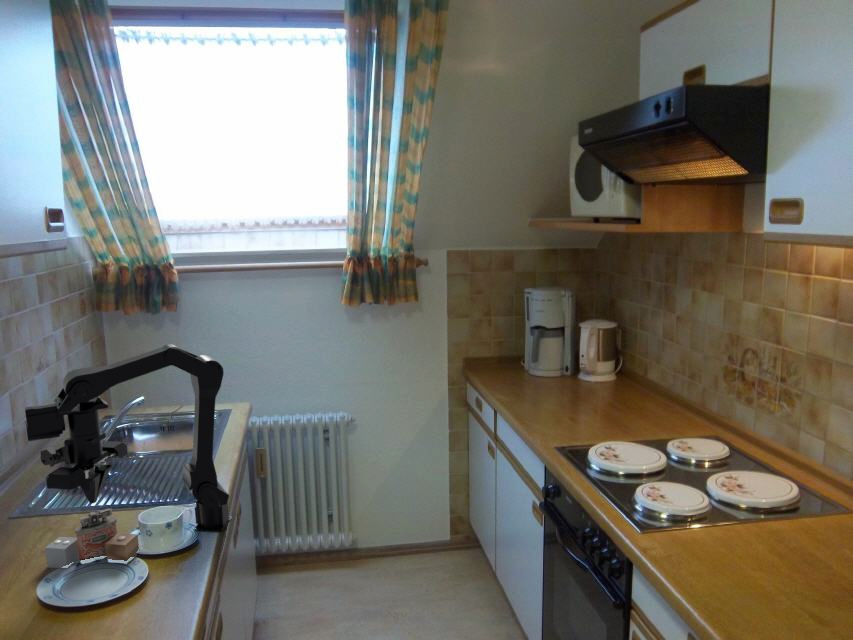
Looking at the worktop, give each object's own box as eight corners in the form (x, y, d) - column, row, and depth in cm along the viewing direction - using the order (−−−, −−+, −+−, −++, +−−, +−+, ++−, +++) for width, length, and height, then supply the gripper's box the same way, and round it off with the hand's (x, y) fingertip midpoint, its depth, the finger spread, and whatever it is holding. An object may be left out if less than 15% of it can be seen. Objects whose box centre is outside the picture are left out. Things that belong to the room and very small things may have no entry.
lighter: (81, 566, 140) (75, 521, 139) (77, 559, 143) (71, 515, 141) (122, 552, 146) (117, 509, 144) (117, 546, 148) (112, 504, 146)
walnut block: (139, 553, 145) (137, 533, 144) (127, 565, 141) (125, 544, 140) (120, 552, 146) (118, 532, 145) (107, 563, 142) (105, 542, 141)
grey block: (81, 557, 144) (78, 537, 143) (67, 569, 140) (64, 548, 139) (62, 556, 145) (59, 535, 144) (47, 567, 140) (44, 546, 140)
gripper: (78, 415, 149) (86, 481, 152) (16, 446, 131) (26, 521, 134) (125, 417, 148) (132, 484, 151) (68, 449, 129) (77, 525, 132)
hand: (93, 502), depth 142 cm, fingers closed
